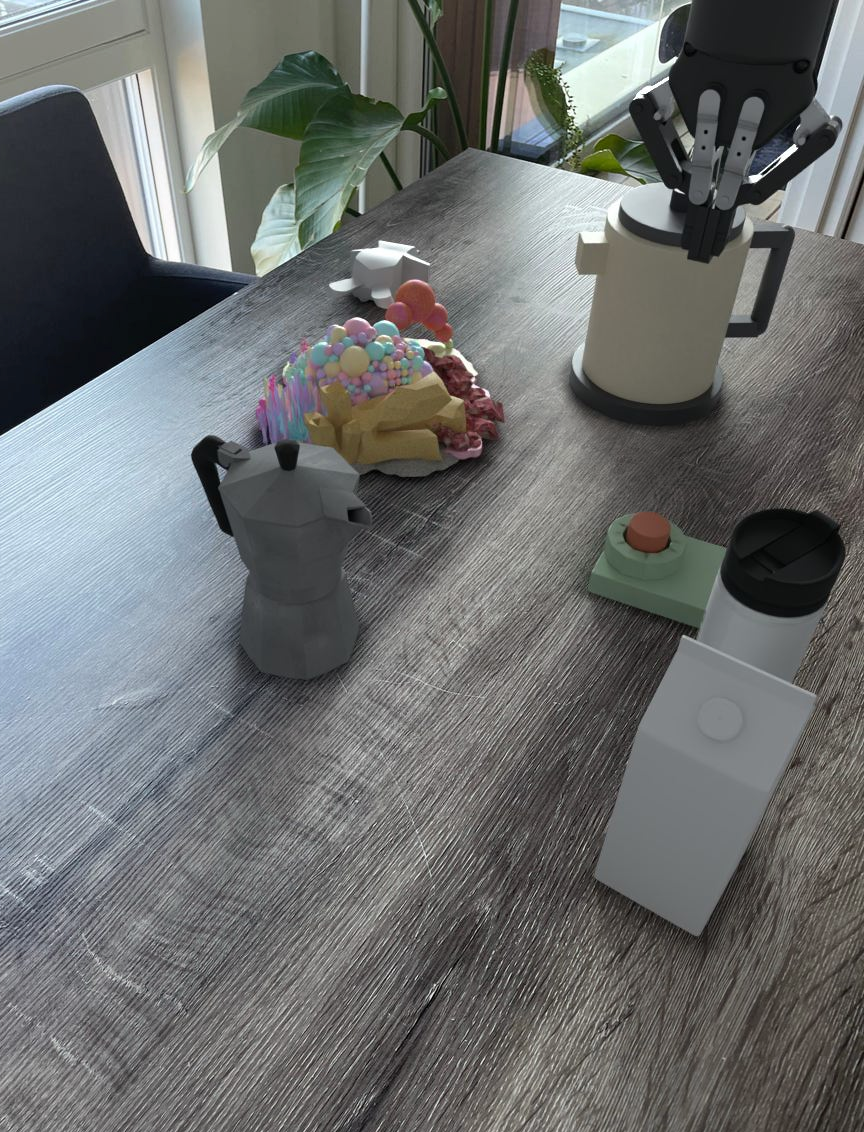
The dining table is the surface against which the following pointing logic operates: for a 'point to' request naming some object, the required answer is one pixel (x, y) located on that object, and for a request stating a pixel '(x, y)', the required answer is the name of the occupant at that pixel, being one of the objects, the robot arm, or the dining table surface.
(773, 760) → the milk carton
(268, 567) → the coffeepot
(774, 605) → the travel mug
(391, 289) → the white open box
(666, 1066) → the dining table surface
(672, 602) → the button base
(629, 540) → the red button cap
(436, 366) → the pastel sphere sculpture
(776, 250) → the kettle
